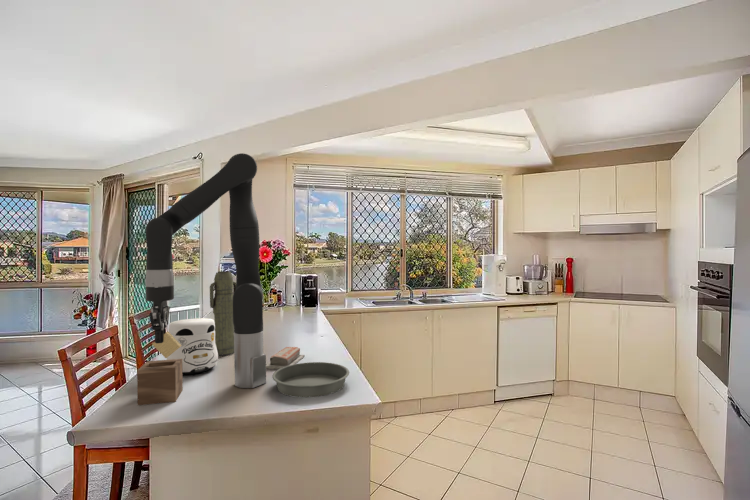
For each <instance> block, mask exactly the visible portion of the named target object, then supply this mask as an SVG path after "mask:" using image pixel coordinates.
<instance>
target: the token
mask: <svg viewBox="0 0 750 500" xmlns="http://www.w3.org/2000/svg"><path fill="white" fill-rule="evenodd" d="M151 345H152V346H153V347H154V348H155V349H156V350H157V351H158V352H159V353H160V354H161V355H162V356H163V357H164V358H165V359H167V357H169V356H170V355H171V354H172V353H173V352H175V351H176V350H177V349H178V348H180V347H181V344H180V343H179V342H178V341H177V340H176V339H175V338H174V337H173V336H172V335H171V334H170V333H169V330H168V331H167V330H166V333H165V334H164V335H163V343H155V341H154V342H152V344H151Z"/></svg>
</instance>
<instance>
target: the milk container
mask: <svg viewBox="0 0 750 500" xmlns="http://www.w3.org/2000/svg"><path fill="white" fill-rule="evenodd" d="M168 332H169V333H170V334H171V335H172V336H173V337H174V338H175V339H176V340H177V341H178V342H179V343H180V344H181V347H180V348H178V349H177V350H176V351H175V352H173V353H172V354H171V355H170V356H169V357H167V358H165V360H171V359H182V374H183V375H193V374H199V373H204V372H207V371H210V370H212V369H213V368H215V367H216V365H217V363H218V361H219V360H218V359H219V356H218V351H217V348H216V344H215V322H214V318H210V317H209V318H207V317H202V318H201V317H200V318H199V317H198V318H185V319H178V320H175V321H174V320H173V321H171V322H170V323H168Z"/></svg>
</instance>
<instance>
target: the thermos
mask: <svg viewBox="0 0 750 500" xmlns="http://www.w3.org/2000/svg"><path fill="white" fill-rule="evenodd" d="M233 277H234V276H233V274H232V272H231V271H228V270H223V271H217V272H216V273H215V275H214V279H213V282H212V283H211V284H210V285H209V307H210V309H212V314H213V317H214V318H213V320H214V322H215V344H216V348H217V351H218V357H223V356H224V357H225V356H232V355H233V354H234V325H233V294H234V292H235V290H236V282H235V281H234V278H233Z"/></svg>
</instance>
